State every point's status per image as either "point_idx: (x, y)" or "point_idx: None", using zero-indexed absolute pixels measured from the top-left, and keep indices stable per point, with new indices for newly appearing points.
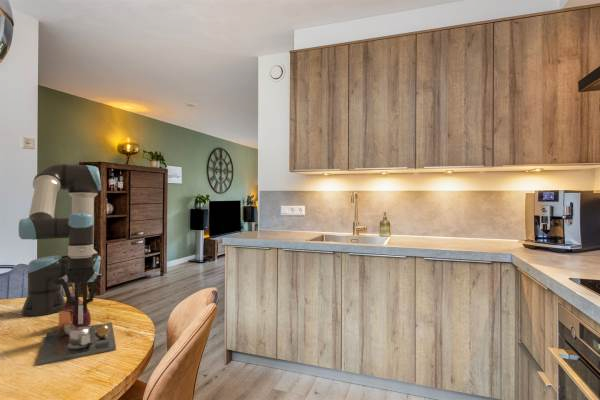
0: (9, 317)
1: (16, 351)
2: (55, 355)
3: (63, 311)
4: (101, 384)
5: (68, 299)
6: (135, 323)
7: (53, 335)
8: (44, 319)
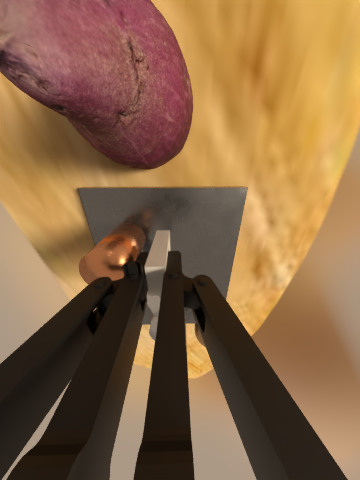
0: None
1: (57, 256)
2: None
3: (98, 276)
4: (193, 370)
5: (90, 330)
6: (299, 202)
7: (104, 221)
8: None
